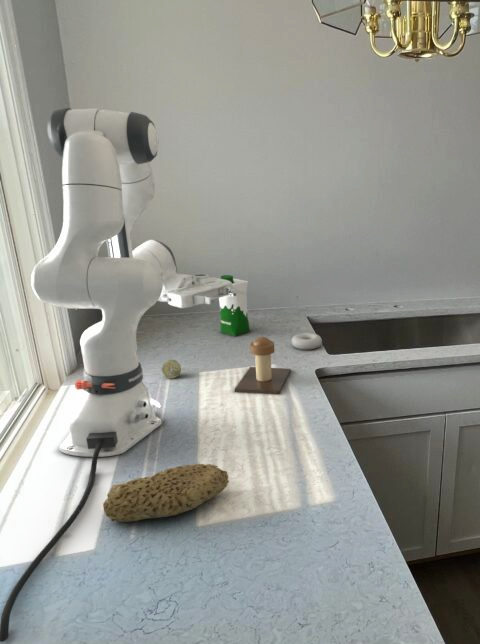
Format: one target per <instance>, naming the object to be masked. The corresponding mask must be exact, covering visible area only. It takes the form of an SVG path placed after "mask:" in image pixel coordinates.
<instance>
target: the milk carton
mask: <svg viewBox="0 0 480 644" xmlns="http://www.w3.org/2000/svg"><path fill="white" fill-rule="evenodd" d="M220 279H224V280H228V281H230V282H232V286H233V289H234V290H236V291H237V295H236V296H234V297H230V296H228V295H227V296H223V297H220V298H218V301H219V313H220V314H219V315H220V333H221V334H226V335H229V336H233V337H236V336H237V337H238V336H240V335H244V334H245V333H249V332H251V329H250V323H249V314H248V313H249V311H248V299H247V297H248V296H247V291H248V285H249V281H248V280H243V279H239V278H234V275H229V274H226V275H221V276H220Z"/></svg>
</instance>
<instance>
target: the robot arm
mask: <svg viewBox="0 0 480 644" xmlns="http://www.w3.org/2000/svg"><path fill="white" fill-rule="evenodd" d="M46 129H47V137H48V141H49V143H50V145H51V147H52V149H53V150H54V152H55V153H56V154H57V155H58V156H59V157H61V158H62V160H61V161H62V163H61V187H62V202H63V203H62V204H63V206H62V207H63V209H62V211H63V217H62V218H63V219H62V228H61V232H60V235H59V238H58V240H57V242H56V243H55V245H54V247H53V249H51V251H50V252H49V253H48V254H47V255H46V256H45V257H43V258H42V259H41V260H39V261H38V262H37V263H36V264H35V266H34V267H33V270H32V272H31V277H30V283H31V288H32V290H33V292H34V295H35V296H36V297H37V299H38V300H39V301H41V303H43V304H44V305H48V306H53V307H58V308H64V309H77V310H78V309H80V310H81V309H83V310H89V309H90V310H101V314H102V320H101V321H100V320H99V321H98V322H96V323H94V324H92V325H91V326H89V327H87V329H85V330H84V331H83V332H82V334H81V336H80V339H79V345H80V350H81V357H82V362H83V366H84V369H83V373H82V378H81V379H82V380H80V379H77V380H76V381H75V383H74V387H75V389H76V390H82V393H81V395H80V397H79V399H78V401H77V404H76V406H75V408H74V410H73V413H72V415H71V416H70V420H69V433H68V435H67V436H66V437H65V438H64V440H63V442H61V444H60V446H59V450H60V452H62V453H64V454H66V455H69V456H74V457H75V456H76V457H87V458H89V457H90V458H91V465H90V470H89V471H90V472H89V476H88V481H87V484H86V487H85V490H84V492H83V495H82V497H81V498H80V501H79V503H78V504H77V506H76V508H75V509H74V511H73V512H72V513H71V515H70V517H69V518H67V520H66V521H65V522H64V524H63V525H62V526H61V527H60V528H59V530H58V531H57V532H56V533H55V535H54V536H53V537H52V538H51V540H50V541H49V542H48V543H47V544H46V545H45V546H44V547H43V548H42V550H41V551H40V552H39V553H38V554H37V555H36V557H35V558H34V560H32V562H31V563H30V564H29V566H27V567H28V568H27V569H26V570H25V571H24V573H23V574H22V576H20V578H19V580H18V581H17V583H16V584H15V586H14V587H13V589H12V591H11V592H10V594H9V597H8V598H7V600H6V603H5V604H4V607H3V610H2V613H1V616H0V643H4V642H6V641H7V639H8V638H9V629H10V619H11V612H12V610H13V607H14V605H15V602H16V600H17V598H18V596H19V594H20V592H21V591H22V589H23V587H24V585H25V584H26V582H27V581H28V579H29V578H30V577H31V576H32V574H33V573H34V572H35V570H36V569H37V568H38V566H39V565H40V563H41V562H42V561H43V559H44V558H46V556H47V555H48V554H49V552H50V551H51V550H52V549H53V548H54V547H55V546H56V544H57V543H58V542H59V540H60V539H61V538H62V537H63V536H64V534H66V532H67V531H68V529H69V528H70V527H71V526H72V525H73V523H74V522H75V520H76V519H77V518H78V517H79V515H80V513H81V512H82V510H83V508H84V507H85V505H86V503H87V501H88V500H89V497H90V494H91V492H92V490H93V487H94V483H95V478H96V473H97V466H98V460H99V458H101V457H102V458H103V457H104V458H105V457H112V456H113V457H114V456H119V455H122V454H124V453H126V452H127V451H128V450H130V449H131V448H132V447H134V446H135V445H136V444H138V443H139V442H140V441H141V440H143V439H144V438H145V437H146V436H148V435H149V434H151V433H152V432H153V431H155V430H156V429H157V428H159V427H160V426H162V419H161V418H160V417H158V416H157V415H156V411H155V407H157V408H161V403H160V402H159V401H157V400H155V399H153V398H152V394H151V391H150V390H149V388H147V386H146V385H145V383H144V382H143V379H144V374H143V373H144V372H143V368H142V364H141V363H140V362H139V355H138V345H137V344H138V343H137V332H138V331H137V330H138V327H139V323H140V321H141V319H142V317H143V316H144V314H145V313H147V311H149V309H150V308H152V307H153V306H155V304H156V303H157V302H160V303H161V302H162V303H167V304H168V305H169V306H171V307H175V308H179V309H187V308H191V307H195V306H199V305H204V304H206V305H211V304H214V303H215V301H214V300H217V299H219V298H220V297H223V296H227V295H228V296H230V297H234V296H236V295H237V291H236V290H234V289H233V286H232V282H230V281H228V280H224V279H221V277H220V278H219V277H212V276H211V277H210V275H209V274H205V273H204V274H187V273H186V274H185V273H179V272H178V267H177V263H176V258H175V255H174V253H173V251H172V249H171V248H170V247H169V246H168V245H167V244H165V243H163V242H162V241H159V240H157V239H151V238H150V239H147V240H146V241H144V242H143V243H141V244H140V245H138V246H136V248H134V249H133V246H132V238H131V235H132V229H133V227H134V225H135V223H136V222H137V220H138V219H139V217H140V216H141V215H142V213H143V212H144V211H145V210H146V209H147V208H148V207H149V206H150V204H151V203H152V201H153V199H154V197H155V192H156V191H155V190H156V188H155V187H156V184H155V178H154V174H153V169H152V165H151V162H152V161H153V160H154V159H155V158H156V157H157V155H158V152H159V151H158V150H159V136H158V135H159V134H158V132H157V129H156V126H155V123H154V122H153V121H152V120H151V119H150V117H148V116H147V115H145V114H142V113H139V112H135V111H130V112H126V111H119V110H111V109H103V108H98V107H97V108H96V107H95V108H94V107H90V108H89V107H87V108H71V107H66V108H59V109H55V110H54V111H52V113H51V114H50V115H49V116H48V118H47V123H46ZM104 243H106V249H107V256H99V251H100V248H101V247H102V245H103V244H104ZM177 272H178V273H177ZM154 406H155V407H154Z"/></svg>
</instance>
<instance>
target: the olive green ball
mask: <svg viewBox="0 0 480 644" xmlns="http://www.w3.org/2000/svg"><path fill="white" fill-rule="evenodd" d="M161 371H162V374H163V375H164V377H166V378H167V379H174V378H177V377H178V376H180V375H181V372H182V367H181V364H180V363H179V362H178V361H177V360H174V359H168V360H166V361H165V362H164V363H163V365H162V367H161Z"/></svg>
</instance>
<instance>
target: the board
mask: <svg viewBox="0 0 480 644" xmlns="http://www.w3.org/2000/svg"><path fill="white" fill-rule="evenodd" d="M291 372H292V369H291V368H284V367H283V368H281V367H271V374H272V379H271V380H268V381H258V380H257V379H256V366H250V367H249V368H248V369H247V371H246V372H245V374H244V375H243V377H242V378H241V379H240V381H239V382H238V384H237V385H236V386H235V388H234V393H249V394H271V395H280V393H281V391H282V389H283V387H284V385H285V384H286V381H287V379H288V378H289V376H290V373H291Z"/></svg>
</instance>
